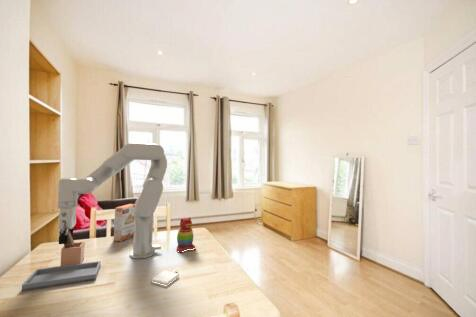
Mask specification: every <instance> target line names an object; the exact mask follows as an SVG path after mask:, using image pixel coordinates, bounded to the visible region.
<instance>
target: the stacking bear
mask: <svg viewBox="0 0 476 317" xmlns="http://www.w3.org/2000/svg"><path fill="white" fill-rule="evenodd" d="M179 225H180V228H179V230H178V232H177V235H176V240H177V246H176V252H177V251H179V252H182V251H184V250H187V249H193V248H195V247H196V245H194V244H193V242H194V231H193V227H192V225H193V222H192V219H191V217H185V218H181V219H180V222H179ZM179 252H178V253H179Z"/></svg>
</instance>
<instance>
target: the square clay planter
mask: <svg viewBox="0 0 476 317" xmlns="http://www.w3.org/2000/svg"><path fill="white" fill-rule="evenodd" d="M74 243H75V246H76V247H72V248H65V246H64V245H63V247H62V248H61V250H60V251H61V252H60V266H66V265H73V264H81V263H84V261H85V243H86V242H85V241H77V242H75V241H74Z"/></svg>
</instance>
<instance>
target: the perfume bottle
mask: <svg viewBox="0 0 476 317" xmlns="http://www.w3.org/2000/svg"><path fill="white" fill-rule="evenodd" d="M176 271H178V272H179V270H178V269H176V268H175V269H174V270H173V271H168V270H166V269H165V270H162V271H161V272H160V273H159V274H157V275H156V276H154V277H152V278H151V281H153V282H157V283H160V284H164V285H168V284H169V283H170V282H172V281H173V280H174V279H175V278H177V277H178V276H179V277H180V273H178V272H177V273H175V272H176ZM177 279H178V278H177ZM172 283H173V282H172Z"/></svg>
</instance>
